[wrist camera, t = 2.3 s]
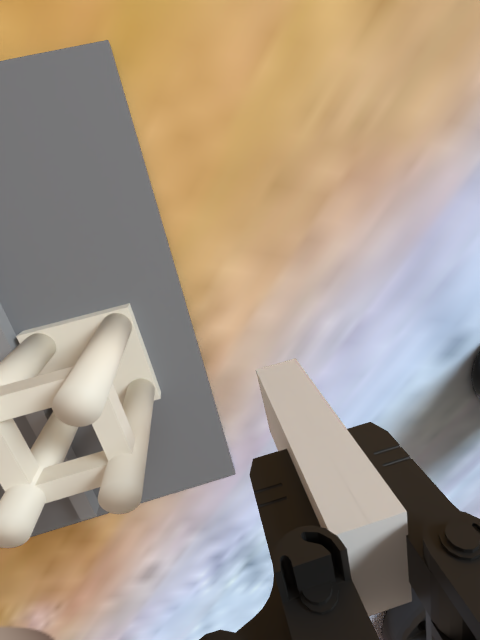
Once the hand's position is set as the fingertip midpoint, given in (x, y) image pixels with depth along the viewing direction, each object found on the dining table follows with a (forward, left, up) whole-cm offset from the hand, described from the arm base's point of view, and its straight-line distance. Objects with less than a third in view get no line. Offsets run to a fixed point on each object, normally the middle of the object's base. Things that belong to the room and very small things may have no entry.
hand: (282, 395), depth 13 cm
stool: (0, +9, -9) cm, 13 cm away
